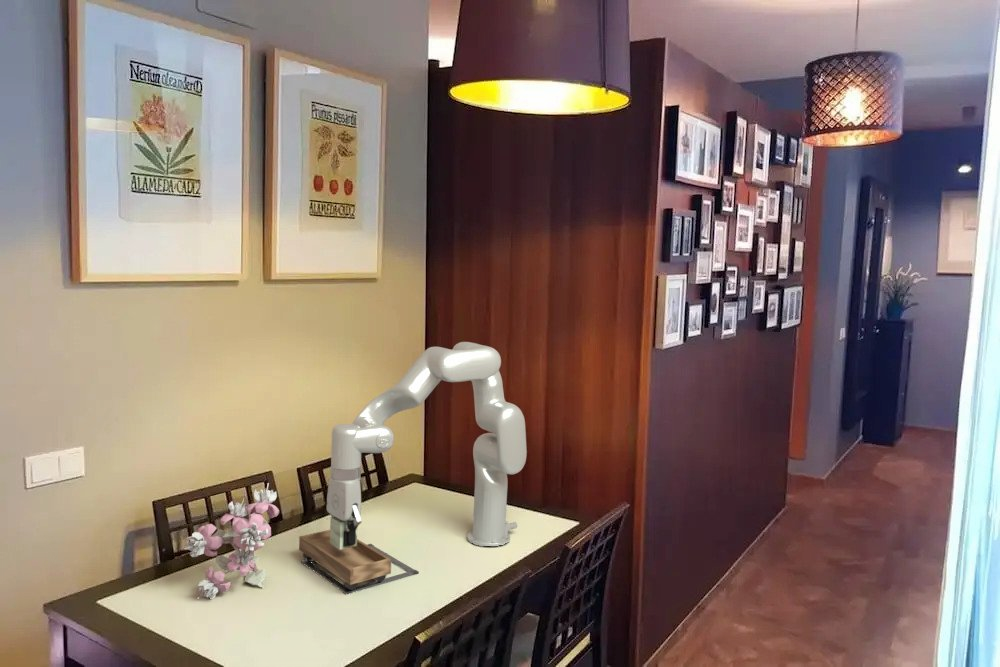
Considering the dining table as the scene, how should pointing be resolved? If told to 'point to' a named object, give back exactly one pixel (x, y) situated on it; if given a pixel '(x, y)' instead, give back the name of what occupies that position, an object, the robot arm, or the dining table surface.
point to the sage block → (339, 533)
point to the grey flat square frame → (368, 585)
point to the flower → (235, 542)
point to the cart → (345, 559)
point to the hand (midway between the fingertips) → (343, 541)
